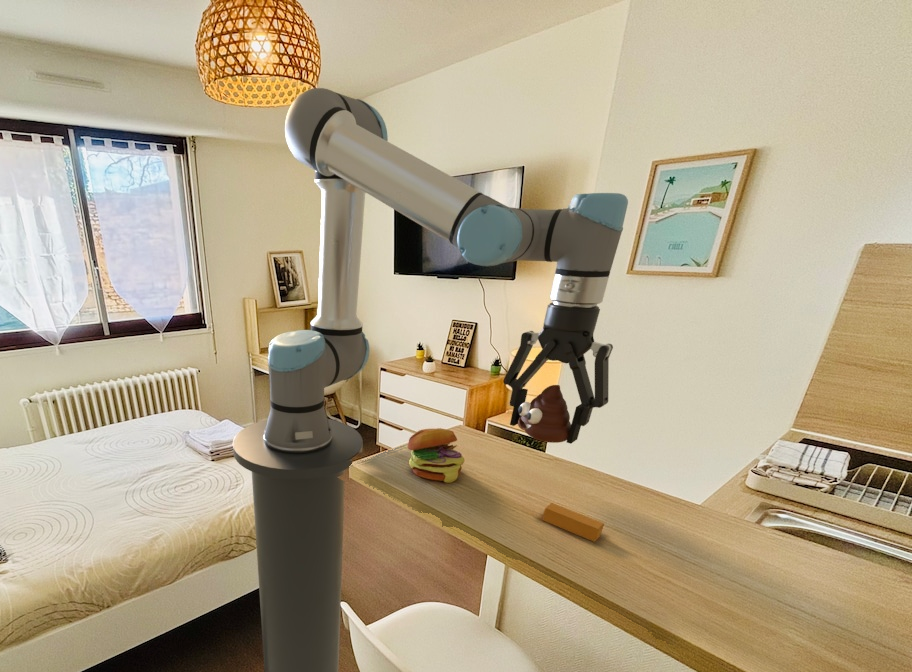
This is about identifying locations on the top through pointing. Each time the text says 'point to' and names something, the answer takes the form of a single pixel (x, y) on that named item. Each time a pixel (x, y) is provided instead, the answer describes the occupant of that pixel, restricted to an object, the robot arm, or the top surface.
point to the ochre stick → (573, 522)
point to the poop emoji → (546, 416)
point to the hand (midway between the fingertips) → (542, 431)
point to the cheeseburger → (435, 455)
